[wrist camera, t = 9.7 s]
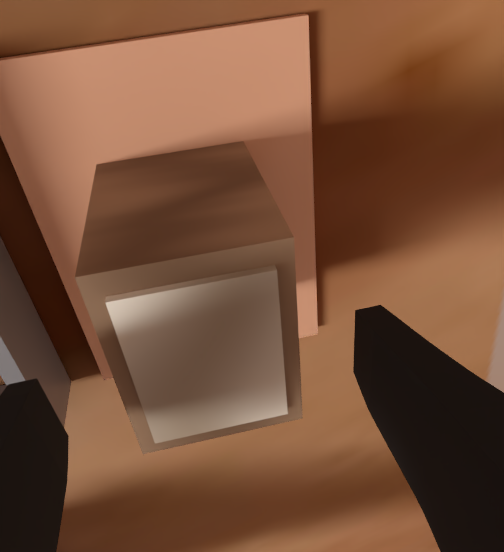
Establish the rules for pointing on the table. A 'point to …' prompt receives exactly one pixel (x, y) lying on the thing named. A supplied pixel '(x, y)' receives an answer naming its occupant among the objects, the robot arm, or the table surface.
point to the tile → (163, 127)
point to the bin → (27, 341)
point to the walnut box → (193, 294)
